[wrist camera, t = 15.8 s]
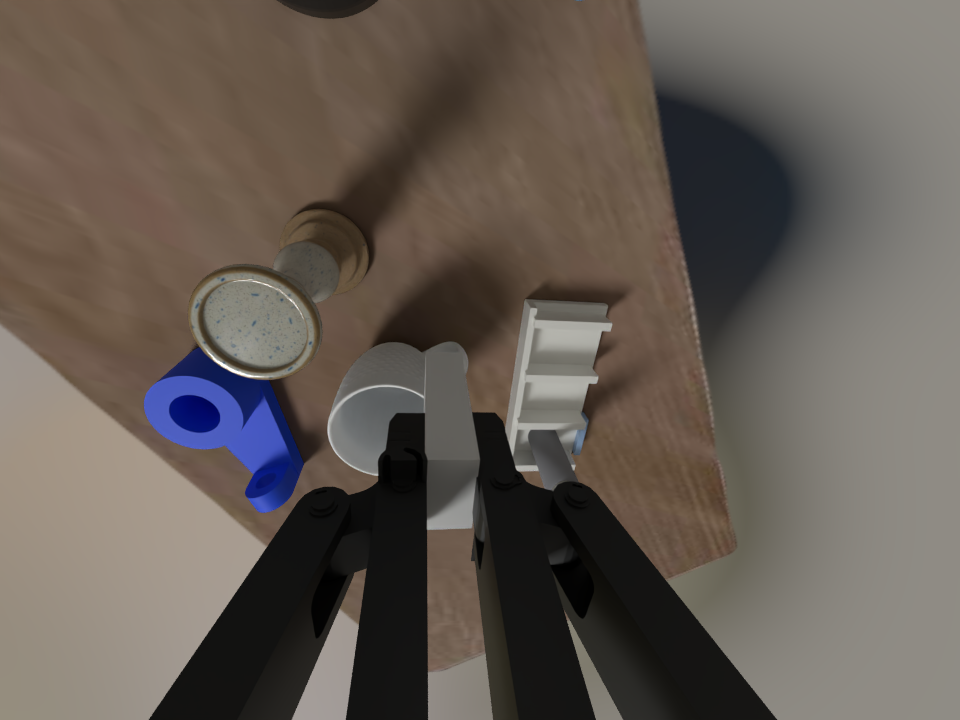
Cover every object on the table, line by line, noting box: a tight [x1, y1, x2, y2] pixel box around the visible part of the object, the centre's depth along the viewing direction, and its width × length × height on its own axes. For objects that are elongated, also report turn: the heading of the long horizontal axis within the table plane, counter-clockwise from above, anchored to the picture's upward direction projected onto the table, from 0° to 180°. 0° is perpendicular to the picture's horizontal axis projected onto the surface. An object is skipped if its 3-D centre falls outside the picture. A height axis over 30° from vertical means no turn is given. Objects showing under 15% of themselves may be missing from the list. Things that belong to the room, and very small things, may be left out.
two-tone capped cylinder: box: [528, 430, 579, 491], centre depth 50 cm, size 4×4×13 cm
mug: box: [328, 341, 468, 476], centre depth 44 cm, size 15×11×13 cm
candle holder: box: [188, 209, 369, 380], centre depth 33 cm, size 9×9×20 cm
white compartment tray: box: [505, 299, 612, 471], centre depth 52 cm, size 24×11×4 cm, turn 175°
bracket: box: [144, 347, 304, 513], centre depth 47 cm, size 20×9×8 cm, turn 14°
